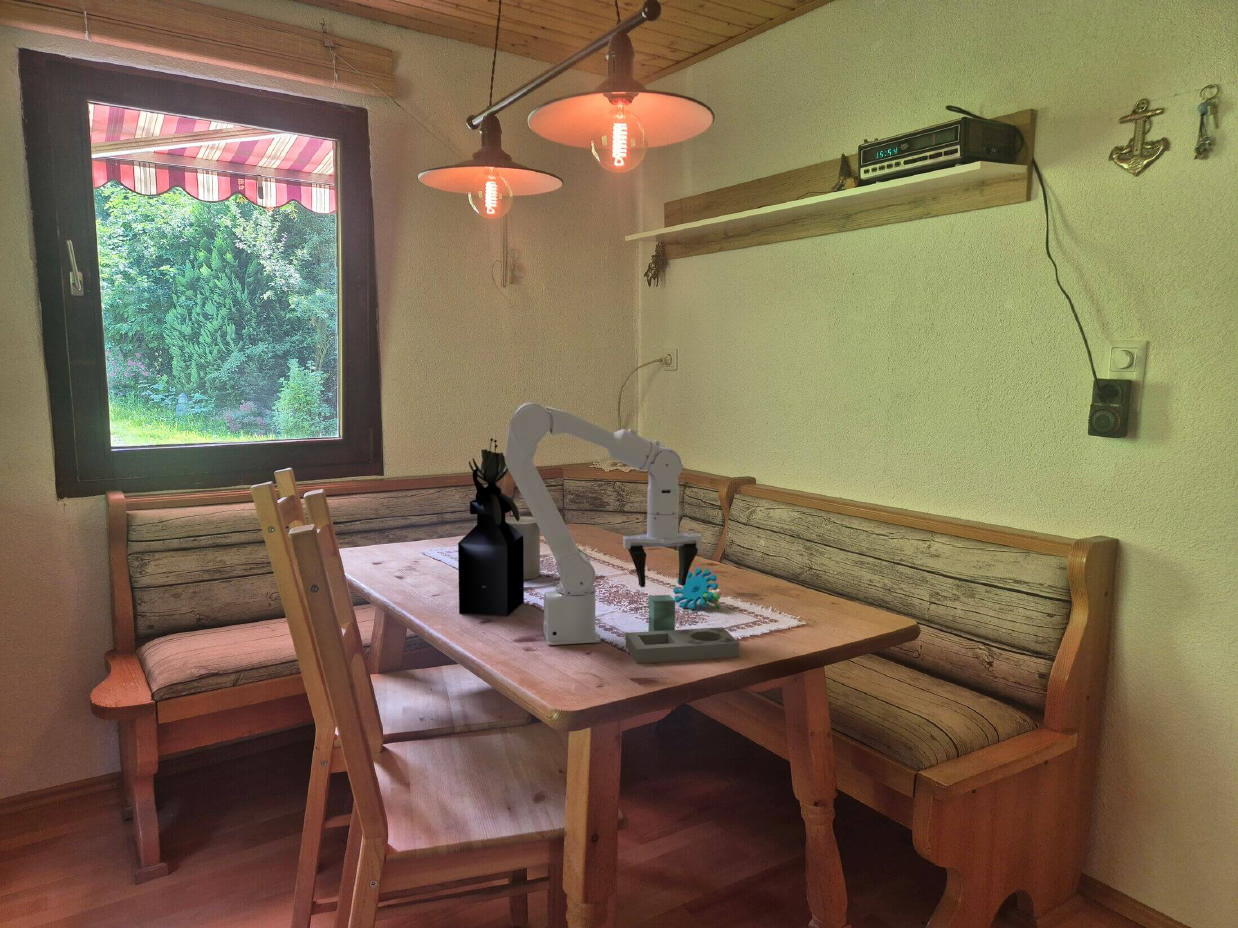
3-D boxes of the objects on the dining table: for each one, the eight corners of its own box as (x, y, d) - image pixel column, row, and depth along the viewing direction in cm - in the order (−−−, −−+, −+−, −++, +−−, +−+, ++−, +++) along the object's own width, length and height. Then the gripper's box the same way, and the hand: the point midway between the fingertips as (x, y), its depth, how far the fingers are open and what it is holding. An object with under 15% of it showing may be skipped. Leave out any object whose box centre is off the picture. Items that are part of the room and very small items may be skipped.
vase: (508, 621, 161) (507, 443, 158) (453, 617, 164) (450, 441, 160) (530, 602, 175) (530, 437, 172) (479, 598, 178) (477, 436, 174)
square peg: (653, 638, 152) (654, 601, 151) (648, 631, 156) (648, 595, 155) (674, 637, 153) (675, 600, 152) (669, 630, 156) (669, 594, 156)
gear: (663, 596, 175) (690, 560, 178) (675, 611, 178) (701, 575, 181) (700, 614, 166) (728, 576, 170) (712, 630, 170) (739, 592, 173)
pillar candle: (493, 574, 200) (492, 513, 198) (529, 569, 205) (528, 509, 203) (510, 582, 192) (510, 519, 190) (547, 577, 197) (547, 515, 195)
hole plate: (636, 663, 138) (637, 649, 138) (625, 646, 147) (625, 632, 147) (739, 656, 142) (739, 642, 142) (722, 640, 151) (722, 627, 150)
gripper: (628, 517, 146) (628, 592, 148) (707, 514, 149) (706, 588, 151) (620, 510, 153) (620, 582, 155) (696, 508, 156) (694, 579, 157)
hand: (662, 584), depth 153 cm, fingers open, 7 cm apart
